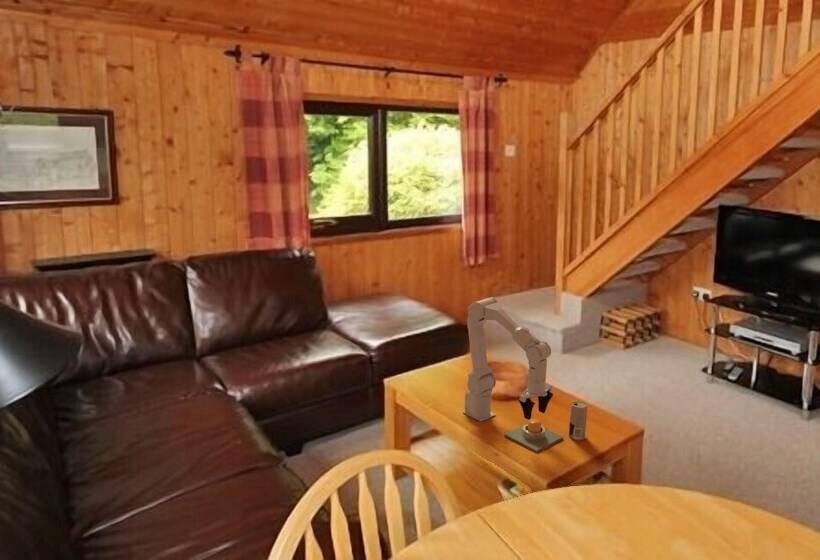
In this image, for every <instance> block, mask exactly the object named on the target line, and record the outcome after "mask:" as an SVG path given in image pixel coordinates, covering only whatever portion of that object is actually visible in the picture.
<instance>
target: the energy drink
mask: <svg viewBox="0 0 820 560" xmlns="http://www.w3.org/2000/svg"><path fill="white" fill-rule="evenodd" d="M569 413H570V416H569V430H568V436H569V438H570V439H571V440H574V441H582V440H584V439H586V432H587V418H588V404H587V403H585V402H583V401H573V402H571V405H570V412H569Z"/></svg>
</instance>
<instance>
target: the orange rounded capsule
mask: <svg viewBox="0 0 820 560" xmlns="http://www.w3.org/2000/svg"><path fill="white" fill-rule="evenodd" d="M527 423H528V429H527V431H529V432H531V433H540V432H541V426H542V421H541V420H539V419H536V418H531V419H530V420H528V419H527Z"/></svg>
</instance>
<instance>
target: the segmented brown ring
mask: <svg viewBox="0 0 820 560" xmlns="http://www.w3.org/2000/svg"><path fill="white" fill-rule="evenodd" d="M525 424H526V425H525ZM525 424H524V426H523V425H522V426H523V430H522V435H523V437H524V438H526V439H528V440H531V441H541V440H543V439H544V438H545V429H546V428H545V427H544V426H543V425H541V432H540V433H531V432H529V431H527V429H528V424H527V423H525Z"/></svg>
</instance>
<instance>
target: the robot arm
mask: <svg viewBox="0 0 820 560" xmlns="http://www.w3.org/2000/svg"><path fill="white" fill-rule="evenodd" d="M467 313H468V315H467V319H466V321H467V322H466V323H467V330H468V338H469V347H470V358H471V364H472V365H471V366H472V368H471V370H470V372H469V373H468V374H467V376H468V380H467V384H466V386H467V389H468V390H467V391H466V392H465V395H464V410H463V411H462V413H463V414H465V415H467V416H469V417H470V418H473V419H475V420H477V421H478V422H483V421H486V420H488V419H490V418H493V417H495V416H496V413H494V412H493V411H491V410H492V409H491V407H492V392H493V388H495V387H496V386H497V380H496V377H495V375H494V372H493V371H494V370H493V369H492V368H491V367H490V366H489V365H488V357H487V347H486V337H485V331H484V324H485V322H486V321H496V322H497V324H499V325H500V326H502V327H503V328H504V329H505V330H506V331H508V333H510V334H511V336H512V337H511V338H512V340H513V341H514V342H515V343H516V344H517V345H518V346H519V347H520V348H521V349H522V350H523V351H524V352H525V356H526V358H527V360H528V363H527V364H528V373H527V375H528V379H527V388H526V389H525V390H524V391H523V392H522V393H521V394H519V397H518V402H519V404H520V406H521V410H522V412H523V417H524V419H525V420H527V421H528V420H530V419H532V413H533V409H534V406H535V405H536V402H534V401H532V398H537V401H538V404H537V405H538V412H539V413H542V414H545V413H546V410H547V407H548V405H549V403H550V401H551V399H552V398H553V395H554V393H553V392H551V391H553V385H552V384H549V383H546V379H547V367H548V366H547V365H548V358H549V357H550V356H551V353H552V348H551V346H550V345H549V343H547V342H546V341H544V340H541V339H538V337H536V336H535V335H533V334H532V333H531V332H530V330H529V329H528V327H525V326H519V325H518V324H517V322H515V321H514V320H513V319H512V317H510V316H509V314H508V313H507V312H506V311H505V310H504V309H503V307H502V303H500V302H499V301H498V300H497V299H496V298H494V297H487V298H484V299H481V300H477V301H473V302H472V303H471V304H470V305H469V306H468V307H467Z"/></svg>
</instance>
